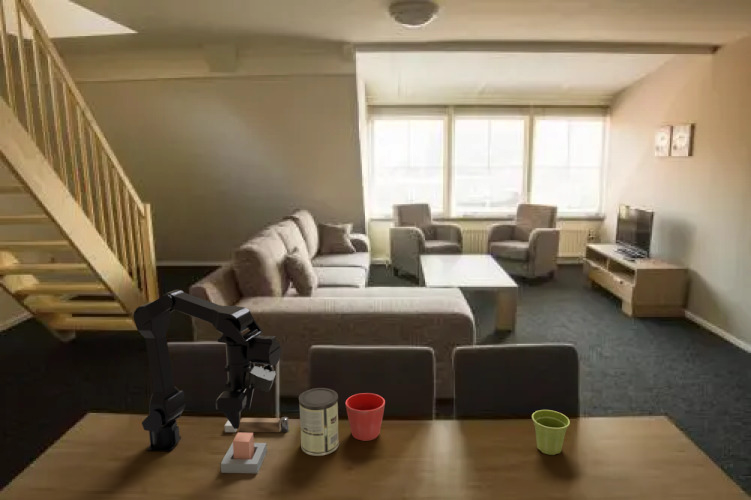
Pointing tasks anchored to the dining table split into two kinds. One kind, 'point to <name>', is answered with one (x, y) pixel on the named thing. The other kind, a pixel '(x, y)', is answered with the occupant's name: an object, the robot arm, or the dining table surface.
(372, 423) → the flower pot
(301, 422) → the coffee can
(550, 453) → the plant pot
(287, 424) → the pivot pin
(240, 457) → the leg peg
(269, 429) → the leg bar
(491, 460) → the dining table surface
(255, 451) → the socket
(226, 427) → the stop block
